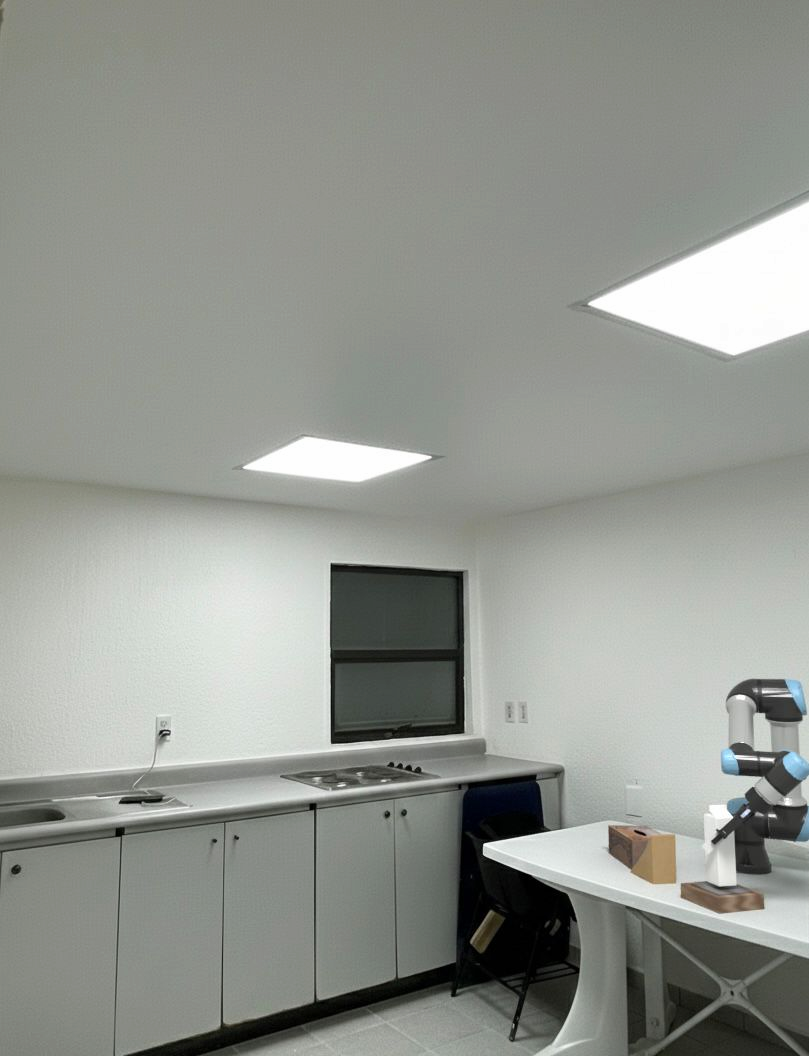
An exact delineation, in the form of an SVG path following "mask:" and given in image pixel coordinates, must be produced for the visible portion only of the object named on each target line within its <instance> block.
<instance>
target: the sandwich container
mask: <svg viewBox="0 0 809 1056" xmlns="http://www.w3.org/2000/svg"><path fill="white" fill-rule="evenodd" d="M676 852H677V851H676V834H675V833H670V834H667V833H666V834H665V833H664V834H663V833H661V834H660V835H651V837H650V839H649V841H648V843H647V845H646V847H645V848H644V850H643V852H642V853H641V855H640V857H639V859H638V860H637V862H636V864H635V865H634V867H633V868H632V870H631V869H630V873H631V874H632V875H634V876H637V878H640V879H642V880H644V881H646V882H648V883H649V884H652V885H667V884H668V885H669V884H671V885H673V884H677V855H676V854H677V853H676Z"/></svg>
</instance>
